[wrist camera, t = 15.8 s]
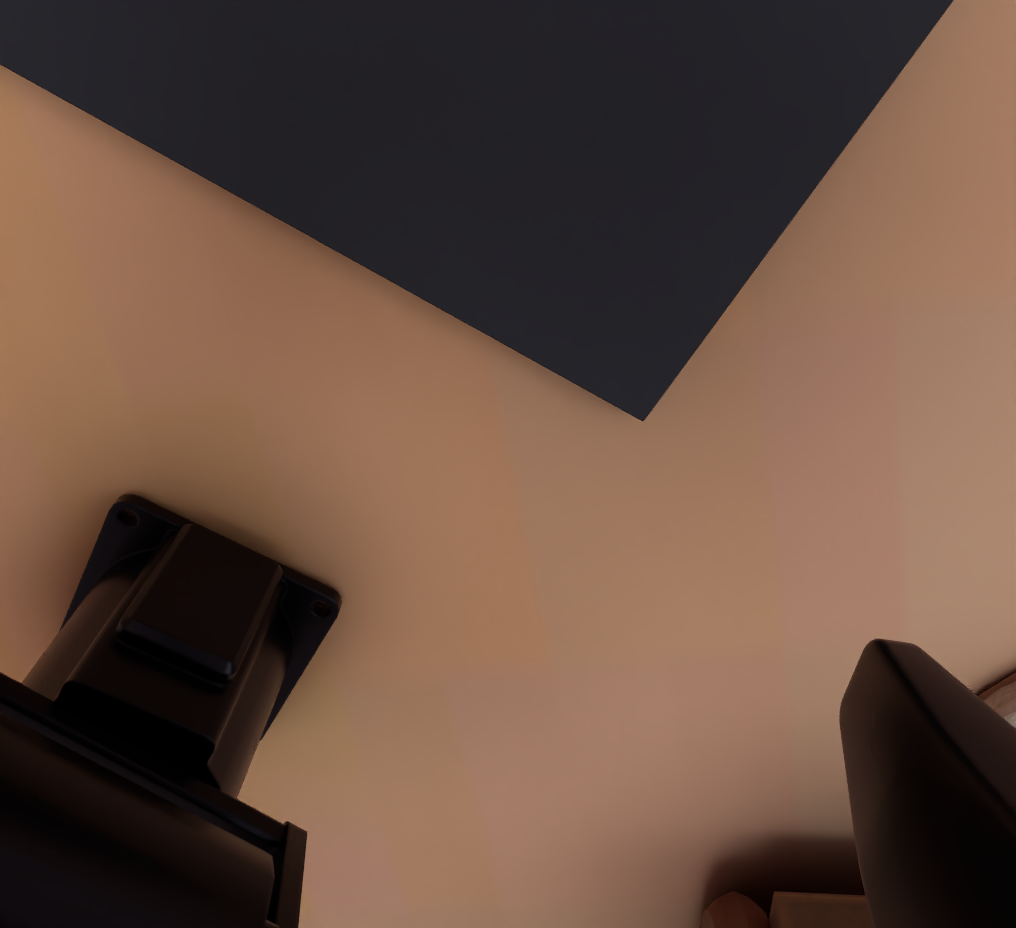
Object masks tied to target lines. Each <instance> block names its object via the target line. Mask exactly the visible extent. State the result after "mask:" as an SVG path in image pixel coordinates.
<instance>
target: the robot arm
mask: <svg viewBox="0 0 1016 928" xmlns="http://www.w3.org/2000/svg"><path fill="white" fill-rule="evenodd" d="M125 510H127V511H131V512H132V513H134V514H135V515H136V517H137V519H136V518H132V517H130V516H129V515H127V513H126V512H125ZM316 602H323V603H325V604H327V605H328V607H321V606H319V605H318V604H316ZM341 604H342V600H341V596H340V595H339V594H338V592H337V591H335V590H334V589H333V588H331V587H329V586H327V585H325V584H323V583H321V582H318V581H316V580H314V579H312V578H310V577H308V576H306V575H304V574H302V573H300V572H297V571H295V570H293V569H291V568H289V567H287V566H285V565H283V564H281V563H279V562H277V561H274V560H272V559H270V558H268V557H266V556H264V555H262V554H260V553H258V552H256V551H253V550H251V549H249V548H247V547H245V546H243V545H241V544H239V543H237V542H235V541H232V540H230V539H228V538H226V537H224V536H222V535H220V534H218V533H216V532H214V531H211V530H209V529H207V528H205V527H203V526H201V525H199V524H197V523H195V522H193V521H190V520H188V519H186V518H184V517H182V516H180V515H178V514H176V513H174V512H172V511H170V510H167V509H165V508H163V507H161V506H159V505H157V504H155V503H153V502H151V501H149V500H146V499H144V498H142V497H140V496H137V495H134V494H125V495H123V496H121V497H119V499H118V500H117V501H116V502H115V503H114V505H113V506H112V507H111V509H110V510H109V512H108V515H107V517H106V519H105V522H104V524H103V527H102V529H101V532H100V534H99V536H98V539H97V541H96V544H95V546H94V549H93V551H92V553H91V556H90V558H89V561H88V563H87V566H86V568H85V570H84V573H83V575H82V578H81V580H80V583H79V585H78V588H77V590H76V592H75V595H74V597H73V600H72V602H71V605H70V607H69V609H68V612H67V614H66V617H65V619H64V622H63V624H62V626H61V629H60V631H59V633H58V635H57V636H56V637H55V639H54V640H53V641H52V643H51V644H50V645H49V647H48V648H47V649H46V651H45V652H44V653H43V655H42V656H41V657H40V659H39V660H38V661H37V663H36V664H35V665H34V667H33V668H32V669H31V671H30V672H29V673H28V675H27V676H26V677H25V679H24V680H23V681H22V683H20V682H18V681H16V680H14V679H12V678H10V677H8V676H7V675H5V674H3V673H1V672H0V928H298V924H299V914H300V903H301V893H302V882H303V872H304V861H305V851H306V840H307V831H305V830H303V829H301V828H299V827H297V826H295V825H294V824H292V823H290V822H288V821H286V822H285V823H284V824H283V823H281V822H279V821H277V820H275V819H273V818H271V817H270V816H268V815H266V814H264V813H262V812H260V811H258V810H256V809H255V808H253V807H251V806H249V805H247V804H245V803H243V802H242V801H240V800H238V799H237V796H238V794H239V791H240V789H241V786H242V784H243V781H244V779H245V776H246V774H247V771H248V768H249V766H250V763H251V761H252V758H253V756H254V753H255V751H256V748H257V746H258V743H259V741H260V740H261V739H262V738H263V737H264V735H265V733H266V732H267V730H268V728H269V727H270V725H271V724H272V722H273V720H274V719H275V717H276V715H277V714H278V712H279V711H280V709H281V707H282V706H283V704H284V702H285V701H286V699H287V698H288V696H289V694H290V693H291V691H292V689H293V688H294V686H295V685H296V683H297V681H298V680H299V678H300V676H301V675H302V673H303V672H304V670H305V668H306V667H307V665H308V663H309V662H310V660H311V659H312V657H313V655H314V654H315V652H316V650H317V649H318V647H319V645H320V644H321V642H322V641H323V639H324V637H325V636H326V634H327V632H328V631H329V629H330V628H331V626H332V624H333V623H334V621H335V619H336V618H337V616H338V613H339V610H340V607H341ZM840 730H841V738H842V745H843V753H844V760H845V768H846V775H847V783H848V790H849V798H850V805H851V813H852V820H853V828H854V835H855V843H856V850H857V856H858V862H859V868H860V873H861V878H862V882H863V887H864V891H865V896H866V900H867V904H868V908H869V912H870V916H871V920H872V924H873V928H1016V728H1015V727H1014V726H1012V725H1011V724H1010V723H1009V722H1008V721H1006V720H1005V719H1004V718H1003V717H1002V716H1000V715H999V714H998V713H997V712H996V711H995V710H993V709H992V708H991V707H990V706H989V705H987V704H986V703H985V702H984V701H983V700H981V699H980V698H979V697H978V696H977V695H976V694H974V693H973V692H972V691H971V690H970V689H968V688H967V687H966V686H965V685H964V684H962V683H961V682H960V681H959V680H958V679H956V678H955V677H954V676H953V675H952V674H951V673H949V672H948V671H947V670H946V669H945V668H943V667H942V666H941V665H940V664H939V663H937V662H936V661H935V660H934V659H933V658H931V657H930V656H929V655H928V654H927V653H926V652H924V651H923V650H922V649H921V648H919V647H918V646H916V645H914V644H911V643H906V642H899V641H892V640H885V639H874V640H872V641H870V642H869V643H868V644H867V645H866V647H865V648H864V650H863V652H862V654H861V657H860V659H859V661H858V664H857V666H856V668H855V671H854V673H853V675H852V678H851V680H850V682H849V685H848V687H847V689H846V692H845V694H844V697H843V699H842V703H841V707H840Z"/></svg>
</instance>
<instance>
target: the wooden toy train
mask: <svg viewBox="0 0 1016 928" xmlns="http://www.w3.org/2000/svg"><path fill="white" fill-rule="evenodd" d="M700 928H873V924H872V920H871V916H870V912H869V908H868V904H867V900H866V896H865V895H844V894H821V893H799V892H777V891H774V895H773V900H772V905H771V911H770V916H769V921H768V918H767V916H766V913H765V912H764V911H763V910H762V909H761V908H760V907H759V906H758V905H757V904H756V903H755V902H754V901H752V900H751V899H750V898H749V897H747V896H744V895H742V894H739V893H737V892H735V891H731V892H729V893H727V894H725V895H723V896H721V897H718V898H716V899H715V900H714V901H713V902H712V904H711V905H710V906H709V907H708V908H707V909H706V910H705V912H704V913H703V916H702V921H701V926H700Z"/></svg>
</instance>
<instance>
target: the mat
mask: <svg viewBox="0 0 1016 928" xmlns="http://www.w3.org/2000/svg"><path fill="white" fill-rule="evenodd" d="M952 2H953V0H0V65H2V66H4V67H6V68H8V69H9V70H11V71H13V72H15V73H17V74H18V75H20V76H22V77H24V78H26V79H27V80H29V81H31V82H33V83H35V84H36V85H38V86H40V87H42V88H44V89H45V90H47V91H49V92H51V93H53V94H54V95H56V96H58V97H60V98H62V99H63V100H65V101H67V102H69V103H71V104H72V105H74V106H76V107H78V108H80V109H81V110H83V111H85V112H87V113H89V114H90V115H92V116H94V117H96V118H98V119H99V120H101V121H103V122H105V123H107V124H108V125H110V126H112V127H114V128H116V129H117V130H119V131H121V132H123V133H125V134H126V135H128V136H130V137H132V138H134V139H135V140H137V141H139V142H141V143H143V144H144V145H146V146H148V147H150V148H152V149H153V150H155V151H157V152H159V153H161V154H162V155H164V156H166V157H168V158H170V159H171V160H173V161H175V162H177V163H179V164H180V165H182V166H184V167H186V168H188V169H189V170H191V171H193V172H195V173H197V174H198V175H200V176H202V177H204V178H206V179H207V180H209V181H211V182H213V183H215V184H216V185H218V186H220V187H222V188H224V189H225V190H227V191H229V192H231V193H233V194H234V195H236V196H238V197H240V198H242V199H243V200H245V201H247V202H249V203H251V204H252V205H254V206H256V207H258V208H260V209H261V210H263V211H265V212H267V213H269V214H270V215H272V216H274V217H276V218H278V219H279V220H281V221H283V222H285V223H287V224H288V225H290V226H292V227H294V228H296V229H297V230H299V231H301V232H303V233H305V234H306V235H308V236H310V237H312V238H314V239H315V240H317V241H319V242H321V243H323V244H324V245H326V246H328V247H330V248H332V249H333V250H335V251H337V252H339V253H341V254H342V255H344V256H346V257H348V258H350V259H351V260H353V261H355V262H357V263H359V264H360V265H362V266H364V267H366V268H368V269H369V270H371V271H373V272H375V273H377V274H378V275H380V276H382V277H384V278H386V279H387V280H389V281H391V282H393V283H395V284H396V285H398V286H400V287H402V288H404V289H405V290H407V291H409V292H411V293H413V294H414V295H416V296H418V297H420V298H422V299H423V300H425V301H427V302H429V303H431V304H432V305H434V306H436V307H438V308H440V309H441V310H443V311H445V312H447V313H449V314H450V315H452V316H454V317H456V318H458V319H459V320H461V321H463V322H465V323H467V324H468V325H470V326H472V327H474V328H476V329H477V330H479V331H481V332H483V333H485V334H486V335H488V336H490V337H492V338H494V339H495V340H497V341H499V342H501V343H503V344H504V345H506V346H508V347H510V348H512V349H513V350H515V351H517V352H519V353H521V354H522V355H524V356H526V357H528V358H530V359H531V360H533V361H535V362H537V363H539V364H540V365H542V366H544V367H546V368H548V369H549V370H551V371H553V372H555V373H557V374H558V375H560V376H562V377H564V378H566V379H567V380H569V381H571V382H573V383H575V384H576V385H578V386H580V387H582V388H584V389H585V390H587V391H589V392H591V393H593V394H594V395H596V396H598V397H600V398H602V399H603V400H605V401H607V402H609V403H611V404H612V405H614V406H616V407H618V408H620V409H621V410H623V411H625V412H627V413H629V414H630V415H632V416H634V417H636V418H638V419H639V420H641V421H644V420H645V419H646V417H647V416H648V415H649V413H650V412H651V410H652V409H653V408H654V406H655V405H656V404H657V402H658V401H659V400H660V398H661V397H662V396H663V394H664V393H665V391H666V390H667V389H668V387H669V386H670V385H671V383H672V382H673V381H674V379H675V378H676V377H677V375H678V374H679V372H680V371H681V370H682V368H683V367H684V366H685V364H686V363H687V362H688V360H689V359H690V357H691V356H692V355H693V353H694V352H695V351H696V349H697V348H698V347H699V345H700V344H701V343H702V341H703V340H704V338H705V337H706V336H707V334H708V333H709V332H710V330H711V329H712V328H713V326H714V325H715V324H716V322H717V321H718V319H719V318H720V317H721V315H722V314H723V313H724V311H725V310H726V309H727V307H728V306H729V305H730V303H731V302H732V300H733V299H734V298H735V296H736V295H737V294H738V292H739V291H740V290H741V288H742V287H743V286H744V284H745V283H746V281H747V280H748V279H749V277H750V276H751V275H752V273H753V272H754V271H755V269H756V268H757V267H758V265H759V264H760V262H761V261H762V260H763V258H764V257H765V256H766V254H767V253H768V252H769V250H770V249H771V247H772V246H773V245H774V243H775V242H776V241H777V239H778V238H779V237H780V235H781V234H782V233H783V231H784V230H785V228H786V227H787V226H788V224H789V223H790V222H791V220H792V219H793V218H794V216H795V215H796V214H797V212H798V211H799V209H800V208H801V207H802V205H803V204H804V203H805V201H806V200H807V199H808V197H809V196H810V195H811V193H812V192H813V190H814V189H815V188H816V186H817V185H818V184H819V182H820V181H821V180H822V178H823V177H824V176H825V174H826V173H827V171H828V170H829V169H830V167H831V166H832V165H833V163H834V162H835V161H836V159H837V158H838V157H839V155H840V154H841V152H842V151H843V150H844V148H845V147H846V146H847V144H848V143H849V142H850V140H851V139H852V137H853V136H854V135H855V133H856V132H857V131H858V129H859V128H860V127H861V125H862V124H863V123H864V121H865V120H866V118H867V117H868V116H869V114H870V113H871V112H872V110H873V109H874V108H875V106H876V105H877V104H878V102H879V101H880V99H881V98H882V97H883V95H884V94H885V93H886V91H887V90H888V89H889V87H890V86H891V85H892V83H893V82H894V80H895V79H896V78H897V76H898V75H899V74H900V72H901V71H902V70H903V68H904V67H905V66H906V64H907V63H908V61H909V60H910V59H911V57H912V56H913V55H914V53H915V52H916V51H917V49H918V48H919V47H920V45H921V44H922V42H923V41H924V40H925V38H926V37H927V36H928V34H929V33H930V32H931V30H932V29H933V27H934V26H935V25H936V23H937V22H938V21H939V19H940V18H941V17H942V15H943V14H944V13H945V11H946V10H947V8H948V7H949V6H950V4H951V3H952Z"/></svg>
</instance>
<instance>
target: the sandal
mask: <svg viewBox="0 0 1016 928" xmlns="http://www.w3.org/2000/svg"><path fill="white" fill-rule="evenodd" d="M978 697H979V698H980V699H981V700H983V701H984V702H985V703H986V704H987V705H989V706H990V707H991V708H992V709H993V710H995V711H996V712H997V713H998V714H999V715H1000V716H1002V717H1003V718H1004V719H1005V720H1006V721H1008V722H1009V723H1010V724H1011V725H1012V726H1014V727H1015V728H1016V672H1015V673H1014V674H1012V675H1011V676H1009V677H1007V678H1006V679H1004V680H1002V681H1001V682H999V683H998V684H996V685H994V686H993V687H991V688H990V689H988V690H986V691H985V692H983V693H982V694H980V695H979V696H978Z"/></svg>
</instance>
